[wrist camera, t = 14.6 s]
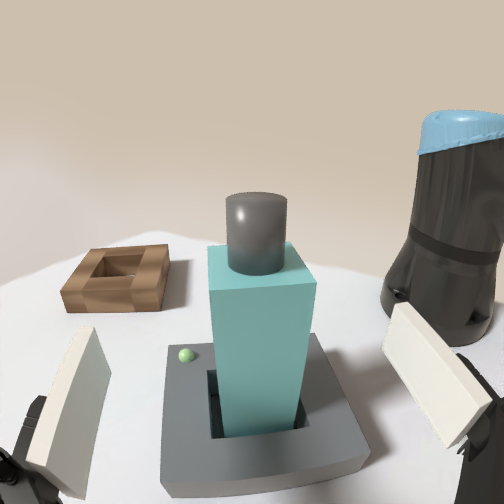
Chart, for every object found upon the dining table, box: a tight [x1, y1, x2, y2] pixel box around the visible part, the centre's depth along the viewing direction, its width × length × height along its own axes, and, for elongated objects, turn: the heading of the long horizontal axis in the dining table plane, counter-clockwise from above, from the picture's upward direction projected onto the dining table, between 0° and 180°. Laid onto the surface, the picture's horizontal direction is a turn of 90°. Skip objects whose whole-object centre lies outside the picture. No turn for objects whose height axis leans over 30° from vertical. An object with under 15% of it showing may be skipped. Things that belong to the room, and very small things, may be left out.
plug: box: [207, 192, 317, 438], centre depth 16 cm, size 4×4×16 cm
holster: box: [60, 244, 170, 313], centre depth 36 cm, size 12×12×3 cm
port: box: [160, 333, 371, 498], centre depth 19 cm, size 12×12×4 cm
